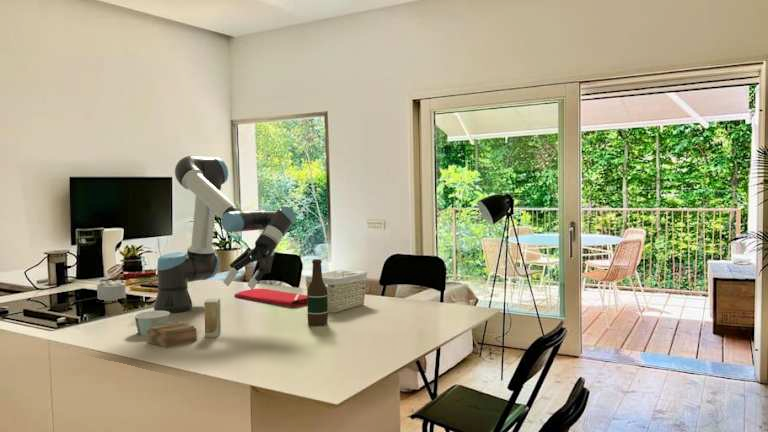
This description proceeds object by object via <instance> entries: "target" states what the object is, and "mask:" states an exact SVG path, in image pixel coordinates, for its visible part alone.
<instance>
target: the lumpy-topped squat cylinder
mask: <svg viewBox="0 0 768 432" xmlns="http://www.w3.org/2000/svg"><path fill="white" fill-rule="evenodd" d="M126 287H127V286H126V283H123V282H122V281H121V280H119V279H117V280H115V281H114V280H111V279H108V280H107V281H105V280H103V281H101V282H99V283H98V284H96V293H97V298H96V299H99V300H104V301H110V300H116V299H121V298H127V291H126V290H127V289H126Z"/></svg>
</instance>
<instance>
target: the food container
mask: <svg viewBox="0 0 768 432" xmlns="http://www.w3.org/2000/svg"><path fill="white" fill-rule="evenodd" d="M170 315H171V313H170V312H168V311H154V310H148V311H142V312H138V313H135V314H133V318H134V320H135V324H136V329H137V334H138V335H139V336H147V337H148V330H150V327H153V326H158V325H163V324H167V323H169V316H170Z"/></svg>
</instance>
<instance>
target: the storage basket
mask: <svg viewBox="0 0 768 432" xmlns="http://www.w3.org/2000/svg"><path fill="white" fill-rule="evenodd" d="M367 279H368V271H361V270H350V269H349V270H348V269H339V270H328V271H324V272H323V271H322V280H323V283H324V284H325V286H326V289H327V300H328V313H330V314H331V313H333V314H334V313H339V312H342V311H346V310H350V309H351V310H352V309H355V308H357V307H360V306H363V305H365V297H366V286H367ZM311 281H312V273H311V274H308V275H306V277H305V286H306V292H307V291H308V287H309V285H310V283H311Z"/></svg>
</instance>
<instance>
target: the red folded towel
mask: <svg viewBox="0 0 768 432" xmlns="http://www.w3.org/2000/svg"><path fill="white" fill-rule="evenodd" d="M234 297H235V298H238V299H243V300H248V301H253V302H258V303H265V304H271V305H272V304H273V305H278V306H279V305H280V306H285V307H293V308H299V307H305V306H307V294H300V293H294V292H287V291H280V290H273V289H268V288H254V289H251V288H250V289H247V290H242V291H239V292H237V293H235V294H234Z"/></svg>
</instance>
